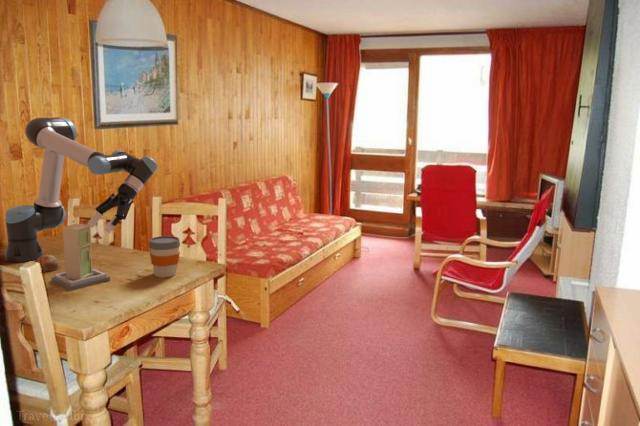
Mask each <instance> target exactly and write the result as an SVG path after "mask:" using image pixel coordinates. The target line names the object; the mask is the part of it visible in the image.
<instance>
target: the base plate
mask: <svg viewBox="0 0 640 426" xmlns="http://www.w3.org/2000/svg"><path fill="white" fill-rule="evenodd" d="M50 279H51V280H50V281H51V282H53V283H54V284H56V285H59V286H60V285H61V286H60V287H63V288H64V289H66V290H68V289H69V290H68V291H72V290H76V289H77V290H78V289H81V288H85V287H89V286H93V285H97V284H100V283H106V282H109V281H111V277H110V276H109V275H107V274H106V273H105V272H102V271H100V270H98V269H96V268H93V275H91V276H89V277H87V278H84V279H80V280H72V279H67V278H66V271H64V272H59V273H55V274H54V276H52V277H50Z"/></svg>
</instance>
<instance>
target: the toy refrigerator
mask: <svg viewBox="0 0 640 426" xmlns="http://www.w3.org/2000/svg"><path fill="white" fill-rule="evenodd" d="M61 231H62V240H63V252H64V265H65V266H64V267H65V268H64V269H65V272H66V278H67V279H72V280H80V279H84V278H87V277H89V276H91V275H93V269H94V268H93V267H94V266H93V257H92V256H93V255H92V254H93V253H92V238H91V227H90V225H88V224H87V223H74V224H70V225H67V226H63V227H62V230H61Z"/></svg>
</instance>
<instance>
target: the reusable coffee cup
mask: <svg viewBox="0 0 640 426" xmlns="http://www.w3.org/2000/svg"><path fill="white" fill-rule="evenodd" d="M148 240H149V241H148V242H149V243H148V248H149V250H150V253H149V257H150V262H151V263H150V264H151V265H152V267H153V271H154V272H153V273H154V276H155V277H156V278H157V277H159V278H169V277H174V276H175V275H177V274H178V264H179V261H180V252H181V251H180V246H181V243H180V242H181V241H180V238H179V236H178V237H177V236H172V235H163V236H162V235H161V236H155V237H151V238H150V239H148Z"/></svg>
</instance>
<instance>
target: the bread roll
mask: <svg viewBox="0 0 640 426" xmlns="http://www.w3.org/2000/svg"><path fill="white" fill-rule="evenodd" d="M34 262H39V263H40V265H41V268H42V272H41V273H49V272H52V271H57V270H58V269H59V268H61V266H60V263H59V260H58V259H57V258H56V257H55V256H54V255H52V254H51V255H50V254H43V256H41V257H39V258H38V259H36V260H34Z"/></svg>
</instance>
